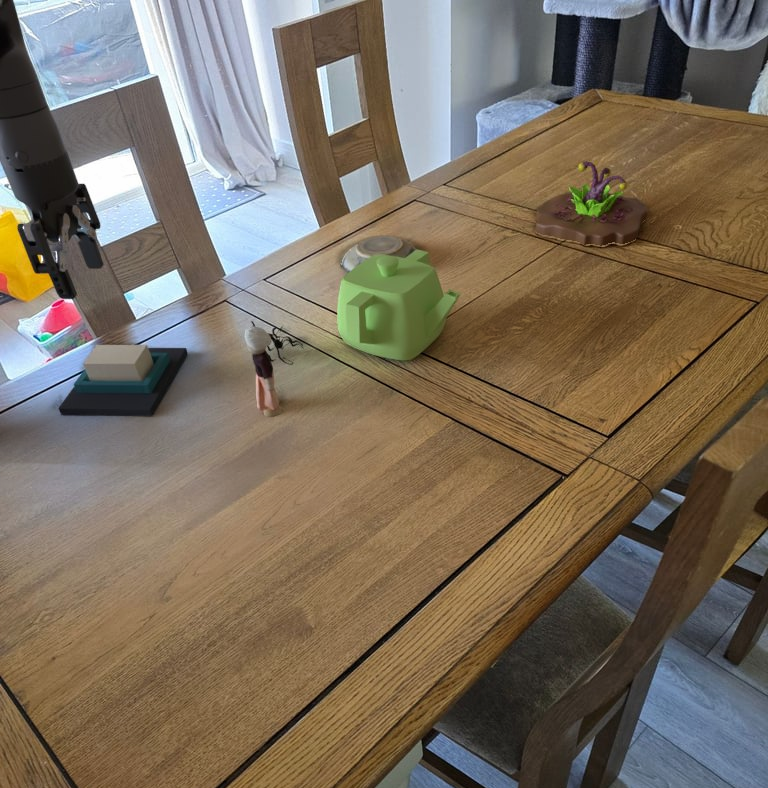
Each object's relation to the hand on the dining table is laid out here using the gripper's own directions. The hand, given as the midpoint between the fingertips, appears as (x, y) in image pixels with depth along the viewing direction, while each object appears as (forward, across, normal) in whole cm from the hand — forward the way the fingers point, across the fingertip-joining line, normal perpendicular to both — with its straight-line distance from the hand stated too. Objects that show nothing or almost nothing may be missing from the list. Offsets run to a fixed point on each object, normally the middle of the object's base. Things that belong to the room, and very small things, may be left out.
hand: (83, 282), depth 93 cm
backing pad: (+16, 0, 0) cm, 17 cm away
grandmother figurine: (+16, +5, +24) cm, 30 cm away
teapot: (+16, -12, +42) cm, 46 cm away
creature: (+16, -9, +22) cm, 29 cm away
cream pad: (+15, 0, 0) cm, 15 cm away
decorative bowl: (+16, -39, +34) cm, 54 cm away
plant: (+15, -54, +72) cm, 91 cm away
